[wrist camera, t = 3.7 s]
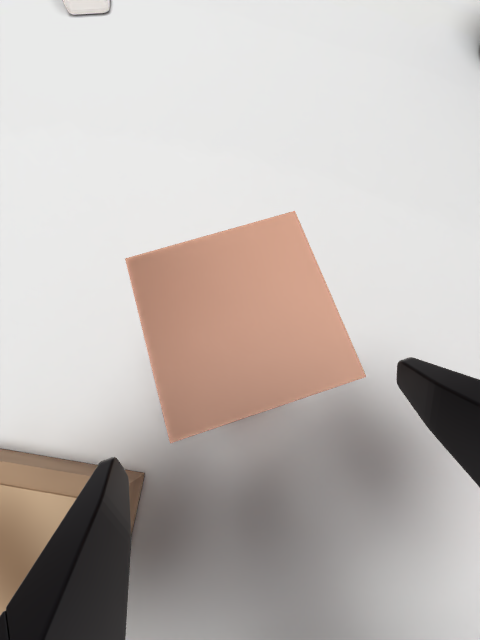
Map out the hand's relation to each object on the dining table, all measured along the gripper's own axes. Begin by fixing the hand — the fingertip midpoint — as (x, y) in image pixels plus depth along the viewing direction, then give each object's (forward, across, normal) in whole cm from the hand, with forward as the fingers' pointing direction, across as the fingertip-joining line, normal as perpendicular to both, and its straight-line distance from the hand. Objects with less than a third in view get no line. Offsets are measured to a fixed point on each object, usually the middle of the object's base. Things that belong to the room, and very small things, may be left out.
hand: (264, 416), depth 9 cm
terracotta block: (+9, 0, +5) cm, 10 cm away
